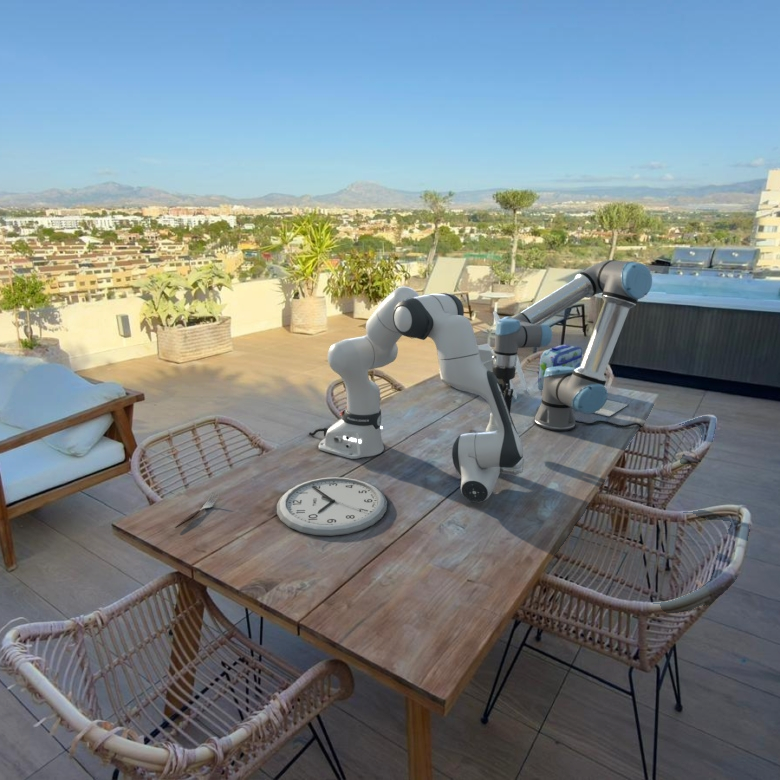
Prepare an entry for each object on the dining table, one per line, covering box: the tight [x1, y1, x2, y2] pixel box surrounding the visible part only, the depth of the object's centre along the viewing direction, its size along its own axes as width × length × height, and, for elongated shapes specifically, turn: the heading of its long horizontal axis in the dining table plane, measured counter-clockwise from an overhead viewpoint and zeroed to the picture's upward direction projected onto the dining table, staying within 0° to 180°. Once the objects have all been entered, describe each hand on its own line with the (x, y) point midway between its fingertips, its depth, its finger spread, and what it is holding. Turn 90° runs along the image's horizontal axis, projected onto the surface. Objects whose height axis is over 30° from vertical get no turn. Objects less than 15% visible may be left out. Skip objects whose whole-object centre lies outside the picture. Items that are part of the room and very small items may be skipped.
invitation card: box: [594, 399, 629, 418], centre depth 226 cm, size 21×1×15 cm
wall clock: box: [276, 476, 388, 537], centre depth 142 cm, size 30×2×30 cm
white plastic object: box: [438, 310, 531, 400], centre depth 245 cm, size 37×45×31 cm
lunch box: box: [537, 344, 583, 391], centre depth 246 cm, size 26×11×21 cm, turn 134°
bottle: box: [485, 412, 498, 432], centre depth 162 cm, size 5×5×19 cm
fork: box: [174, 492, 220, 529], centre depth 137 cm, size 3×16×2 cm, turn 160°
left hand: (493, 449), depth 164 cm, fingers closed on bottle, 5 cm apart
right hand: (498, 430), depth 181 cm, fingers closed on cap, 4 cm apart
